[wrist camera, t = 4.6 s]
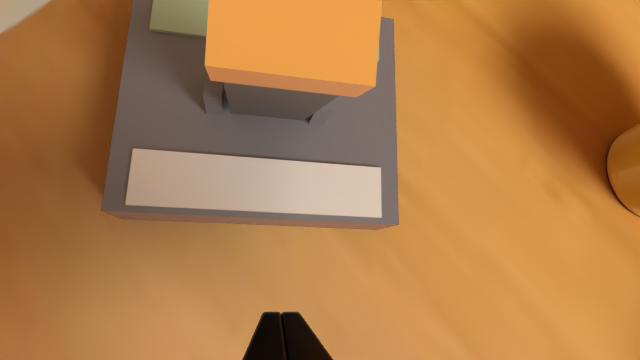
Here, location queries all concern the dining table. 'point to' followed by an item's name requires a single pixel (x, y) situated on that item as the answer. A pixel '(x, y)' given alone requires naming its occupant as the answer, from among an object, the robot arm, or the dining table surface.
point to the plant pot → (626, 168)
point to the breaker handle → (292, 53)
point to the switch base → (242, 140)
